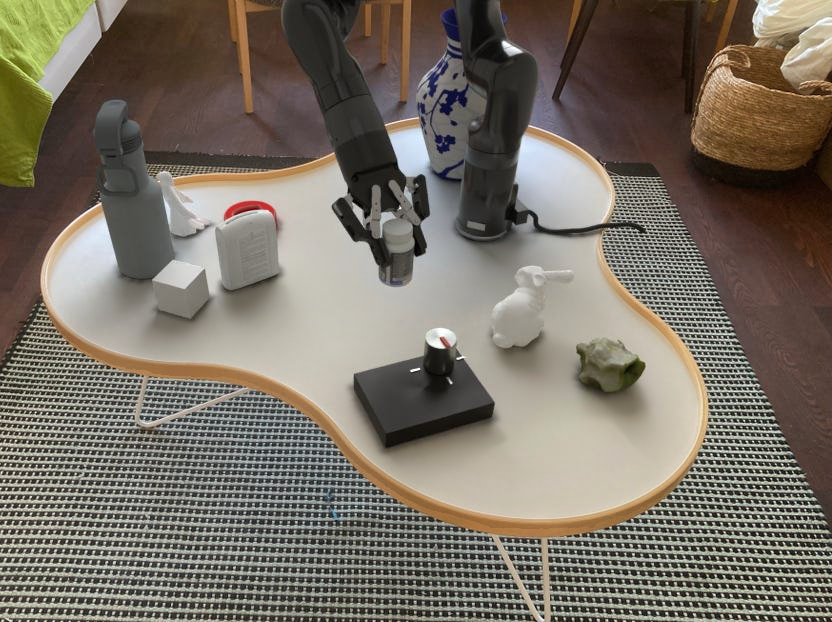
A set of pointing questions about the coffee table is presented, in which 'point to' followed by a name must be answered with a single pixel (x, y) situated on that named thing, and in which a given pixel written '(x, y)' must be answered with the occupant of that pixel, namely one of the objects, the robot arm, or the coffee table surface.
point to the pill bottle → (398, 252)
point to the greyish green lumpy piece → (608, 365)
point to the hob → (421, 399)
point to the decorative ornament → (249, 209)
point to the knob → (439, 351)
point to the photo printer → (247, 248)
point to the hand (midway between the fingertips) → (404, 260)
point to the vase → (448, 106)
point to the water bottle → (130, 195)
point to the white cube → (181, 288)
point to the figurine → (179, 208)
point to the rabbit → (524, 307)
